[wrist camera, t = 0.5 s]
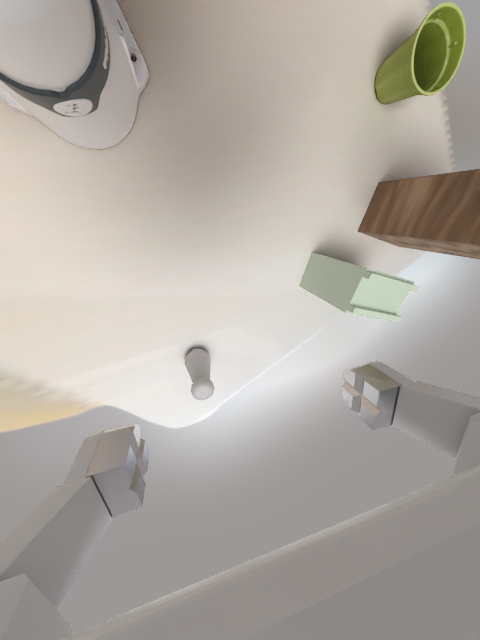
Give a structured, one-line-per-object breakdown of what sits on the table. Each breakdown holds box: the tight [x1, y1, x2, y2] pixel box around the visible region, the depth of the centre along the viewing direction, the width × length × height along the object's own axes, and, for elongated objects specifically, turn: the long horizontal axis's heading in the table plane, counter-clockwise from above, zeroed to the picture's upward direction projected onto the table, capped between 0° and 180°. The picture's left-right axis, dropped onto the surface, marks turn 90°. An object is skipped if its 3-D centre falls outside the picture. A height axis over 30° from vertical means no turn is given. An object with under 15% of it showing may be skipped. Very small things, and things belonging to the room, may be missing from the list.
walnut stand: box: [358, 169, 480, 259], centre depth 40 cm, size 14×10×27 cm
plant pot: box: [375, 2, 466, 104], centre depth 36 cm, size 9×9×9 cm
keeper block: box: [300, 252, 420, 322], centre depth 46 cm, size 12×8×17 cm, turn 74°
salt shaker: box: [185, 349, 214, 400], centre depth 48 cm, size 6×6×13 cm
